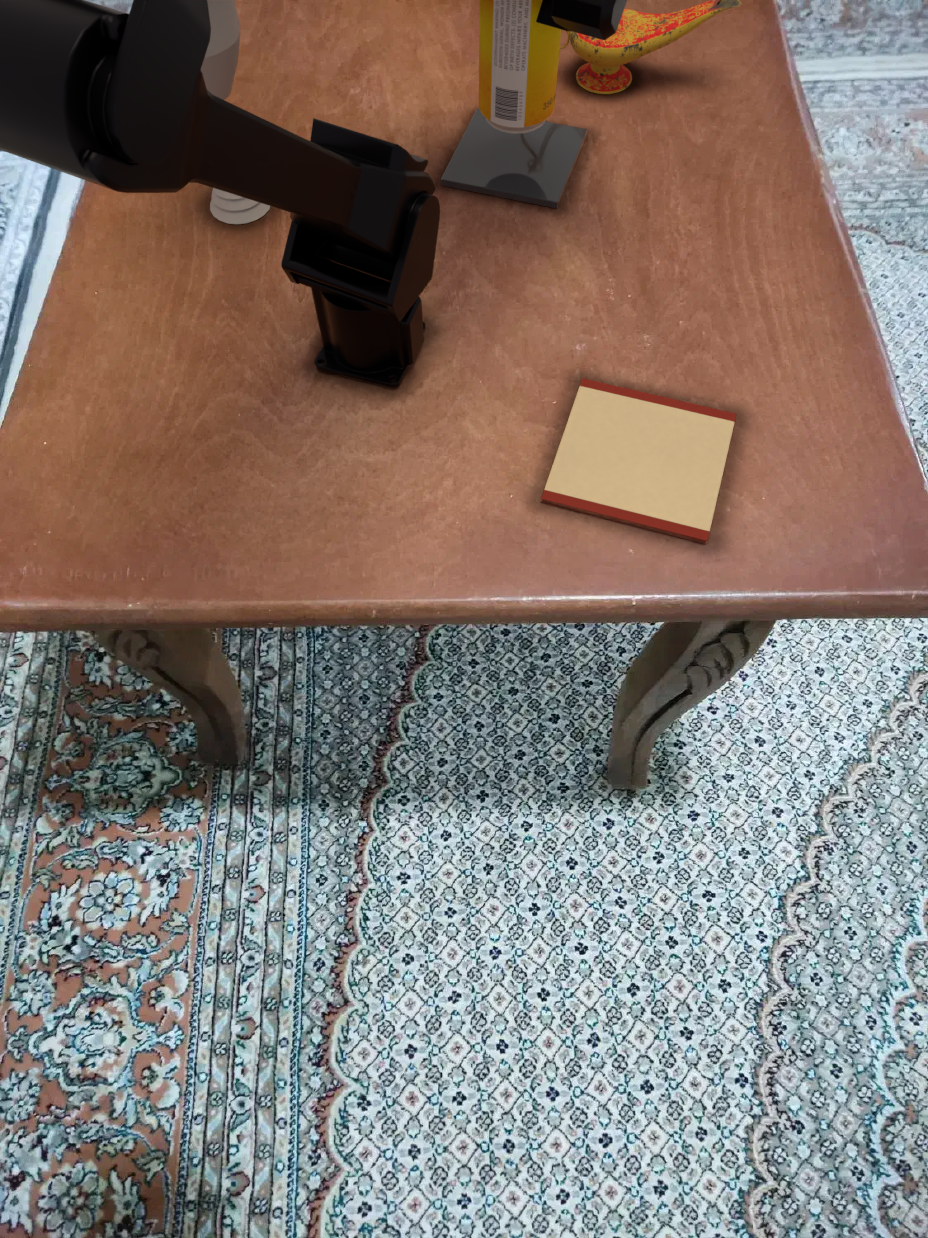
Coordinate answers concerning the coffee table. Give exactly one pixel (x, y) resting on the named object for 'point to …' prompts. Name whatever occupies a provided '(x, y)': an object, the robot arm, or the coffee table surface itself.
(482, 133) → the coaster
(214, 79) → the chalice
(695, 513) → the beige and red tile
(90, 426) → the coffee table surface
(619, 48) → the magic lamp
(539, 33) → the beer can
